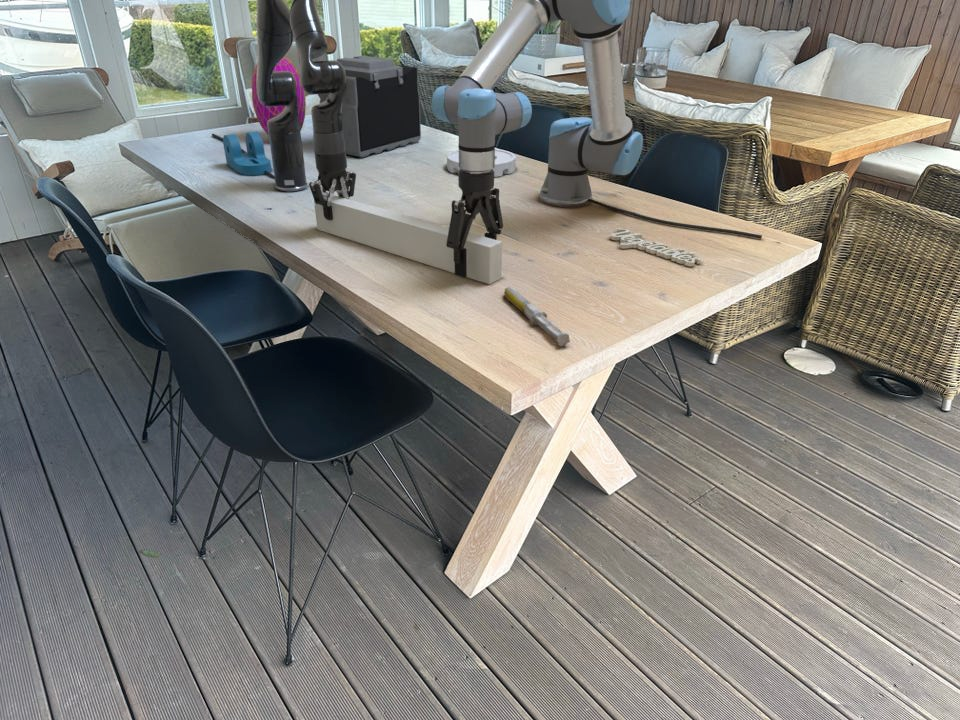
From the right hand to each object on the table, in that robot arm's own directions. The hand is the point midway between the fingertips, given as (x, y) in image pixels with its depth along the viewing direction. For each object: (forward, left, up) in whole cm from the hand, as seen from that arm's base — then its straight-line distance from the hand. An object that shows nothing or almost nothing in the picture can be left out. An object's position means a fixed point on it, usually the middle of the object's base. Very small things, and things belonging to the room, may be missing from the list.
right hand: (475, 268), depth 154 cm
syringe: (-20, +15, -2) cm, 25 cm away
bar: (+22, -5, -2) cm, 23 cm away
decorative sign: (-32, -33, -2) cm, 46 cm away
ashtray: (+37, -82, -2) cm, 90 cm away
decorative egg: (+122, -84, -2) cm, 148 cm away
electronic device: (+87, -92, -2) cm, 126 cm away
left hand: (+44, -9, +2) cm, 45 cm away
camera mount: (+105, -46, -2) cm, 115 cm away
